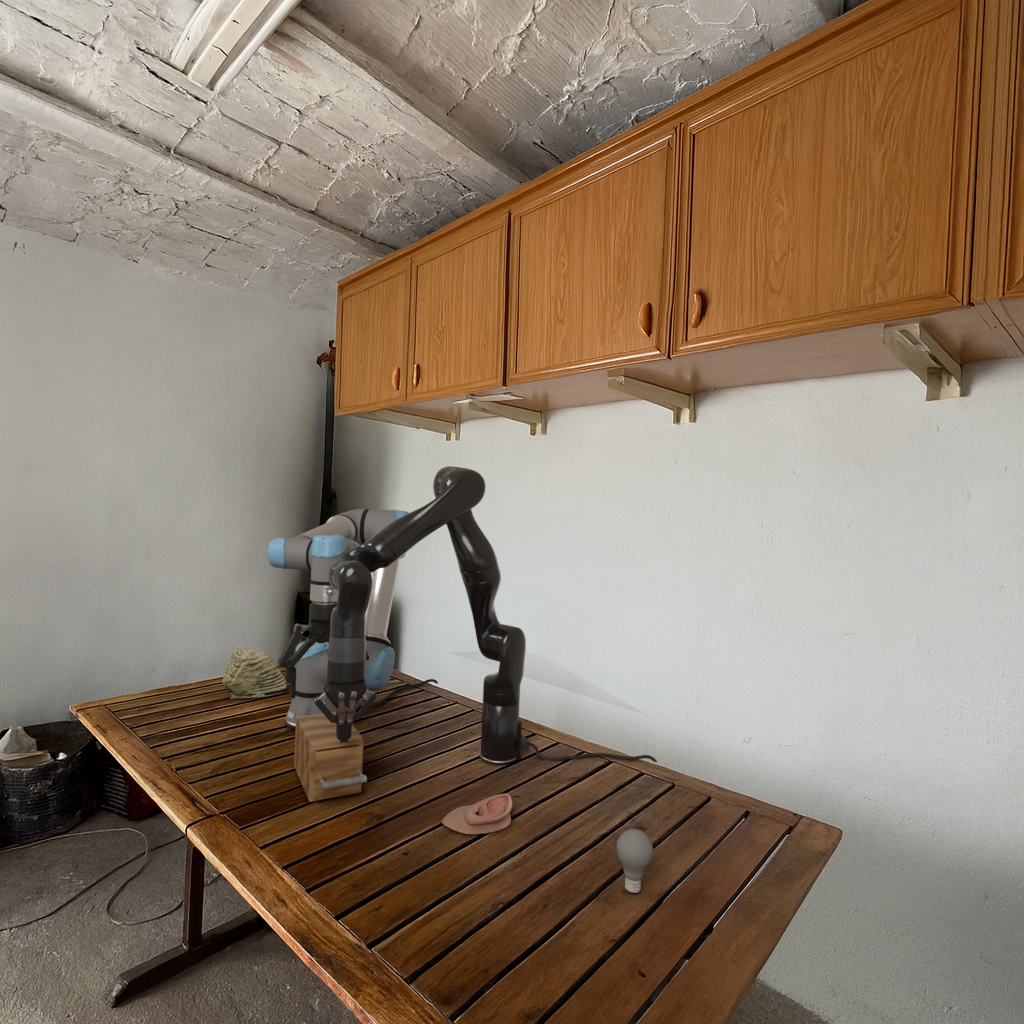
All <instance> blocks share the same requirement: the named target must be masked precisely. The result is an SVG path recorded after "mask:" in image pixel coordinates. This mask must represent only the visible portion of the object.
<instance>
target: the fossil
mask: <svg viewBox="0 0 1024 1024" xmlns="http://www.w3.org/2000/svg"><path fill="white" fill-rule="evenodd" d="M222 676H223V677H222V685H223V687H224V688H225V690H226V691H228V693H229V698H230V699H250V698H264V697H271V696H275V695H281V694H284V693H285V691H286V689H287V687H288V686H287V681H286V676H284V674H283V673H282V672H281V669H279V668H278V667H277V665H276V663H275V662H274V660H273V659H272V658H271V657H270V656H269V655H268V654H267V653H266V652H265V650H264V649H263V648H260V647H258V648H251V647H247V646H246V647H245V646H238V647H237V648H236V649H235V650H233V651H232V653H231V656H230V657H229V659H228V660H227V663H226V666H225V668H224V671H223V675H222Z"/></svg>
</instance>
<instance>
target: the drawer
mask: <svg viewBox="0 0 1024 1024" xmlns="http://www.w3.org/2000/svg"><path fill="white" fill-rule="evenodd" d="M362 757H363V758H364V746H363V747H362V745H360V746H355V745H351V746H344V747H337V748H330V749H323V750H316V752H315V764H314V790H313V799H314V800H318V801H321V800H320V799H324V800H326V799H325V798H329V799H332V798H331V797H335V798H337V797H336V796H340V797H343V796H342V795H346V796H349V795H348V794H351V795H354V794H353V793H357V794H360V793H359V792H361V784H362V785H363V784H366V783H368V777H367V775H366V774H363V768H362ZM361 793H362V792H361Z"/></svg>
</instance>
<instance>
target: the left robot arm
mask: <svg viewBox="0 0 1024 1024" xmlns="http://www.w3.org/2000/svg"><path fill="white" fill-rule="evenodd" d="M408 513H409V512H408V511H406V510H400V509H399V510H398V509H377V508H375V509H374V508H357V509H356V508H355V509H351V510H348V511H343V512H341V513H338V514H336V515H333V516H331V517H329V518H328V519H327V520H326V522H325V523H324V524H322V525H320V526H316V527H314V528H313V529H310V530H308V531H306V532H303V533H301V534H298V535H296V536H293V537H285V536H284V537H275V538H273V539H271V541H270V543H269V544H268V547H267V561H268V563H269V565H270V566H271V567H273V568H277V569H283V570H306V571H307V570H308V571H310V591H309V593H310V594H309V600H310V601H311V603H310V604H309V612H308V613H309V614H308V616H309V617H308V622H307V624H300V623H298V622H296V623H295V624H294V625H293V632H292V634H291V636H290V638H289V640H288V642H287V644H286V645H285V647H284V649H283V651H282V653H281V655H280V656H279V657H278V661H277V664H278V666H279V667H280V668H284V669H285V680H286V684H289V696H290V698H291V702H290V704H289V708H288V711H287V713H286V715H285V726H286V728H287V729H289V730H291V731H295V729H296V717H297V716H306V715H314V714H323V713H322V712H321V710H320V709H319V708H318V707H317V706H316V704H315V703H314V701H313V699H314V697H319V696H320V695H321V694H322V693H323V692H324V688H325V686H326V684H327V666H328V656H327V652H328V645H329V639H330V624H331V622H330V621H331V613H332V610H333V609H334V608H335V607H336V606H337V601H338V593H339V591H338V590H336V589H334V588H333V587H332V586H331V584H330V583H329V580H328V572H329V569H330V567H331V566H332V565H333V563H334V562H335V561H336V560H338V559H339V558H340V557H341V556H343V555H344V554H346V553H348V552H349V551H351V550H353V549H355V548H356V547H358V546H360V545H362V544H364V543H366V542H367V541H369V540H370V539H371V538H372V537H373V536H374V535H376V534H377V533H378V532H380V531H381V530H382V529H383V528H385V527H386V526H387V525H389V524H390V523H391V522H393V521H395V520H396V519H398V518H400V517H402V516H404V515H406V514H408ZM413 548H414V546H413V547H412V548H411V549H410V550H412V549H413ZM406 553H407V552H406ZM406 553H405V554H404V555H403V556H401V557H400V558H399V559H398V560H397V561H395V562H394V563H393V564H391V565H390V566H388V567H386V568H380V569H377V570H376V571H374V572H373V573H372V591H371V596H370V600H369V605H368V608H367V611H366V630H365V639H366V662H365V683H366V685H367V689H368V690H369V691H379V690H382V689H384V688H385V687H386V686H387V684H388V683H389V681H390V680H391V679H390V678H391V677H392V674H393V671H394V666H395V658H396V653H395V650H394V648H393V647H391V641H390V640H389V639H388V637H387V634H388V628H389V622H390V617H391V616H390V615H391V611H392V606H393V600H394V593H395V587H396V581H397V575H398V571H399V565H400V560H401V559H404V558H405V557H406ZM306 631H307V632H308V634H309V635H308V636H307V638H306V639H305V640H304V641H302V642H300V643H298V642H299V640H300V638H301V635H304V633H305V632H306ZM294 649H295V652H294V653H293V655H292V652H293V651H294ZM290 656H291V657H290ZM428 683H435V684H437V685H438V684H439V681H438V680H436V679H434V678H429V679H425V680H424V681H420V682H418V683H414V684H409V685H405V686H400V687H398V688H396V689H394V690H392V692H390V693H389V694H387V695H386V696H385V697H384V698H383V699H382V700H380V701H377V702H375V703H374V702H373V703H372V704H371V706H370V707H369V708H368V709H371V708H375V707H379V706H381V705H383V704H384V703H385V702H386V701H387V700H388V699H390V698H391V697H393V696H394V695H395V694H396V693H399V692H400V691H404V690H407V689H411V688H416V687H420V686H423V685H426V684H428ZM326 700H327V704H326V705H325V706H326V707H327V708H328V709H329V710H330V712H336V710H335V706H334V705H333V704H332V702H331V701H330V700H329V698H328V697H327V698H326ZM357 707H358V705H357V706H355V709H356V708H357Z"/></svg>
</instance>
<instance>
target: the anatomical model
mask: <svg viewBox="0 0 1024 1024" xmlns="http://www.w3.org/2000/svg"><path fill="white" fill-rule="evenodd" d="M512 809H513V799H512V796H511V795H510V794H509V793H500V794H496V795H492V796H489V797H486V798H484V799H482V800H480V801H478V802H476V803H473V804H470V805H463V806H462V805H461V806H459V807H457V808H455V809H453V810H451V811H450V812H448V813H447V814H446V815H445V816H444V817H443V818H442V819H441V824H443V826H445V827H446V828H449V829H450V830H452V831H455V832H458V833H461V834H464V835H480V834H482V835H483V834H488V833H489V834H490V833H494V832H497V831H500V830H504V829H505V828H507V827H509V825H510V824H511V823H512V818H511V817H512V816H511V812H512Z"/></svg>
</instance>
